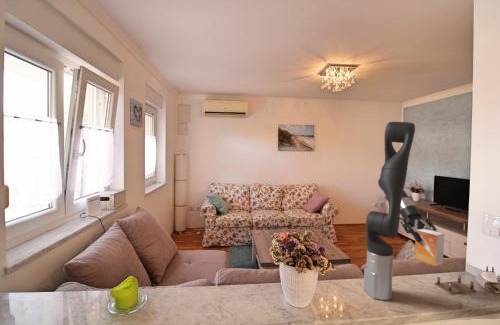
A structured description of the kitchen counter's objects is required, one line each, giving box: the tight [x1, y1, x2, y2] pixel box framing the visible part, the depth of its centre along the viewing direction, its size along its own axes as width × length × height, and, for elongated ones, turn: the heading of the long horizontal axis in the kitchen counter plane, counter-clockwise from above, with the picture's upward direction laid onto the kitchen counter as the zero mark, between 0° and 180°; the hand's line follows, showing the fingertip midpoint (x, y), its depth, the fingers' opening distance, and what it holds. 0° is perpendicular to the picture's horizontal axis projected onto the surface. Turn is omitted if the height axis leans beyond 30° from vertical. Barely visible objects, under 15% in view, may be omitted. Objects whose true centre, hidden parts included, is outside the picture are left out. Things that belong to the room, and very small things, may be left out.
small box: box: [414, 229, 445, 267], centre depth 99 cm, size 8×6×13 cm
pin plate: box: [434, 274, 477, 295], centre depth 99 cm, size 12×7×4 cm, turn 99°
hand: (428, 241), depth 99 cm, fingers closed on small box, 7 cm apart
